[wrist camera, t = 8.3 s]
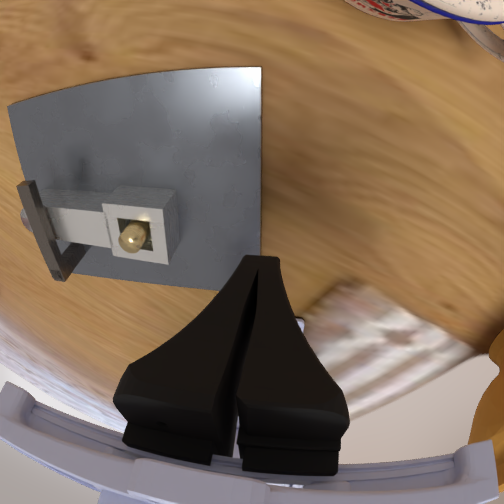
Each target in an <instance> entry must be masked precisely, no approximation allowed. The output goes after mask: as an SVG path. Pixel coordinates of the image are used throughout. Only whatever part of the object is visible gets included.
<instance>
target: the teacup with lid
mask: <svg viewBox="0 0 504 504" xmlns="http://www.w3.org/2000/svg"><path fill="white" fill-rule="evenodd" d="M344 1H346V2H347V3H349V4H350V5H352V6H354V7H355V8H357V9H359V10H361V11H363V12H365V13H368V14H370V15H373V16H376V17H379V18H383V19H387V20H392V21H405V22H408V21H421V20H434V19H454V20H456V21H457V22H458V23H459V24H460V26H461V27H462V28H463V29H464V30H465V31H466V32H467V33H468V35H469V36H470V37H471V38H472V39H473V40H474V41H475V42H476V43H478V44H479V45H480V46H481V47H482V48H483V49H485V50H486V51H487V52H489V53H490V54H491V55H493V56H494V57H496V58H497V59H499V60H501V61H502V62H504V40H503V39H501V38H500V37H498V36H497V35H495V34H494V33H493V32H492V31H490V30H489V29H488V28H487V27H486V26H485V25H495V24H500V25H501V26H502V28H503V29H504V0H344Z"/></svg>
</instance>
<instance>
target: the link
mask: <svg viewBox="0 0 504 504" xmlns="http://www.w3.org/2000/svg"><path fill="white" fill-rule="evenodd" d="M39 194H40V197H41V200H42V203H43V206H44V209H45V212H46V215H47V218H48V221H49V224H50V226H51V229H52V232H53V234H54V237H55V239H57V240H63V241H69V242H75V243H81V244H88V245H94V246H100V247H107V248H112V253H113V256H117V257H123V258H129V259H135V260H142V261H148V262H154V263H161V264H167V265H169V263H170V261H171V259H172V257H173V255H174V253H175V251H176V249H177V247H178V245H179V243H180V239H179V226H178V211H177V195H176V190H173V189H162V188H150V187H137V186H124V185H119V186H118V187H117V188H116V189H115V190H114V191H113V192H112V193H105V192H91V191H76V190H60V189H43V190H42V191H41V192H40V193H39ZM20 215H21V220H22V222H23V224H24V226H25V227H26V228H27V229H28V230H29V231H31V232H33V231H32V229H31V226H30V223H29V221H28V218H27V215H26V213H25V210H24V208H23V209H22V210H21V214H20ZM132 219H133V220H142V221H149V223H150V230H151V233H150V234H149V236H148V237H147V239H146V240H145V242H144V244H143V245H142V247H141V248H140V250H139V251H138V252H137V253H128V252H126V251H124V250H123V249H122V248H121V247H120V245H119V242H118V238H119V236H120V235H121V233H122V232H123V231H124V229H125V228H126V227H127V225H128V224H129V223H130V221H131V220H132Z"/></svg>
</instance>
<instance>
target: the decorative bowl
mask: <svg viewBox="0 0 504 504" xmlns="http://www.w3.org/2000/svg"><path fill="white" fill-rule="evenodd" d="M489 358H490V359H491V360H492V361H493V362H494V363H495V364H496V365H498V366H499V368H500V372H499V375H498V376H497V377H496V378H495V379H494V380H493V381H492V382H491V383H490V385H489V387H488V388H487V389H486V391H485V392H484V394H483V396H482V398H481V400H480V402H479V404H478V406H477V409H476V412H475V415H474V419H473V424H472V428H471V433H470V437H469V441H468V444H472V443H476V442H481V441H485V440H489V439H490V440H492V443H493V449H494V456H495V462H496V470H497V478H498V488H499V493H500V492H503V491H504V329H503V330H502V331H501V332H500V333H499V334H498V336H497V337H496V338H495V340H494V341H493V343H492V344H491V346H490V349H489Z"/></svg>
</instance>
